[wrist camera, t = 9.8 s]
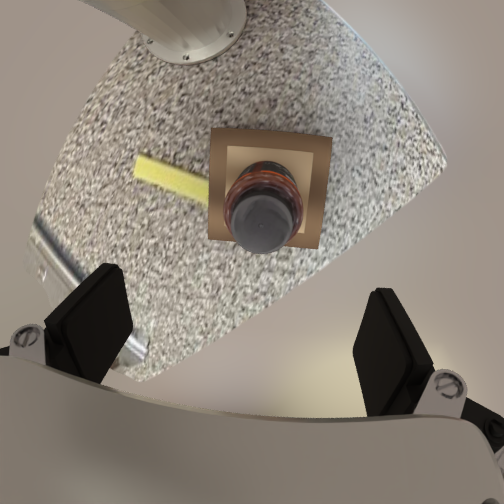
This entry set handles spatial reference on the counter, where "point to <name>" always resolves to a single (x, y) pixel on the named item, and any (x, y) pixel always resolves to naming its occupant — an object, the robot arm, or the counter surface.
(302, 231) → the base slab
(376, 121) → the counter surface
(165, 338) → the counter surface
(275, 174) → the supplement bottle
